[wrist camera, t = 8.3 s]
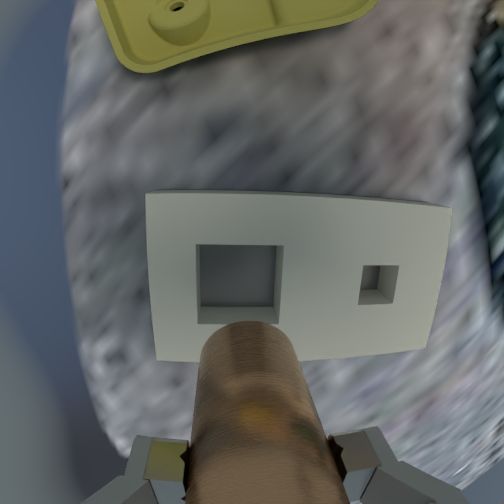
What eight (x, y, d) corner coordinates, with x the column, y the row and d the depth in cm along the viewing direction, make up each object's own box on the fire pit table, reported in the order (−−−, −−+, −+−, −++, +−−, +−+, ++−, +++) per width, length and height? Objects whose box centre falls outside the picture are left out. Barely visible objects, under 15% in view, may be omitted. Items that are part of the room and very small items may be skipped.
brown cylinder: (197, 320, 12) (162, 583, 3) (299, 319, 13) (405, 556, 3) (202, 397, 13) (192, 612, 4) (290, 396, 14) (347, 599, 4)
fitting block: (165, 334, 26) (156, 360, 22) (158, 189, 23) (145, 193, 19) (404, 328, 28) (425, 348, 24) (425, 201, 25) (452, 208, 21)
